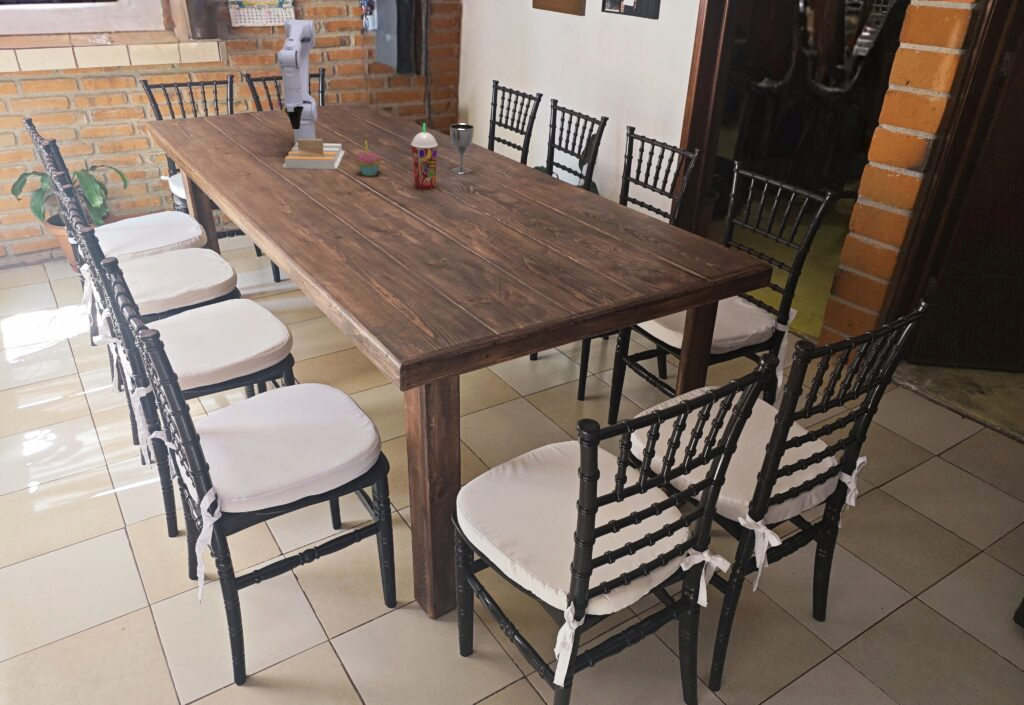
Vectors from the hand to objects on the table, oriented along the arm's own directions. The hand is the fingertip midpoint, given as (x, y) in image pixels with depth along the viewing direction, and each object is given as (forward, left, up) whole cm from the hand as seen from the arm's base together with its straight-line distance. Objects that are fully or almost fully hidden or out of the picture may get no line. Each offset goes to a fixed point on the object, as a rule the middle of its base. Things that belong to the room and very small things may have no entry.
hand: (296, 128), depth 260 cm
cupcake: (+18, +26, -10) cm, 33 cm away
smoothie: (+31, +45, -10) cm, 56 cm away
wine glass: (+12, +57, -10) cm, 59 cm away
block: (+9, +6, -9) cm, 14 cm away
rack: (+3, +6, -10) cm, 12 cm away
